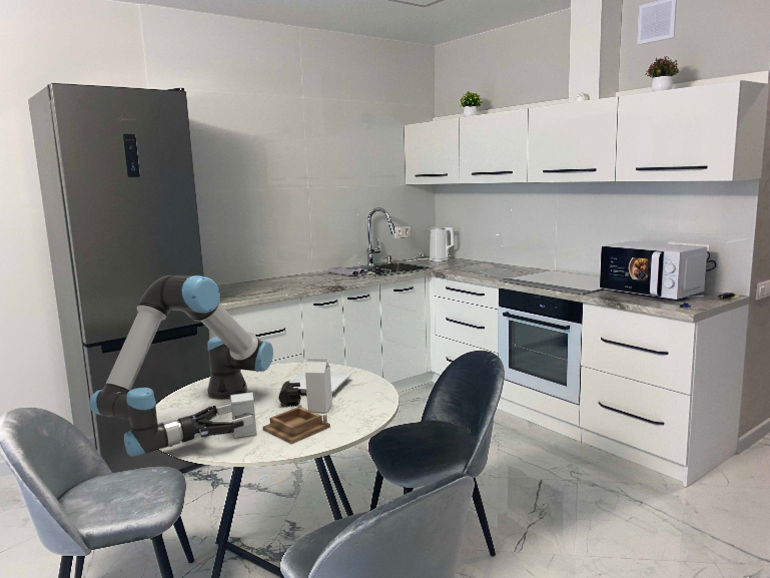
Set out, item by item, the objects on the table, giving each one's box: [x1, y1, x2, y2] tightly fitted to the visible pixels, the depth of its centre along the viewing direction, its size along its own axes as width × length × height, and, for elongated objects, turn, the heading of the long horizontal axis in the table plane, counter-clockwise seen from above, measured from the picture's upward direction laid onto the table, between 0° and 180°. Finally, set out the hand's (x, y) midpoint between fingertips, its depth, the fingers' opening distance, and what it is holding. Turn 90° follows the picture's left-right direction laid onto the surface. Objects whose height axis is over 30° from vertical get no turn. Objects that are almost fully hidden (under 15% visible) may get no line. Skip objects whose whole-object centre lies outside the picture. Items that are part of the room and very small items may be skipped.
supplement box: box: [229, 392, 258, 439], centre depth 193 cm, size 7×7×13 cm
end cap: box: [278, 380, 302, 408], centre depth 218 cm, size 10×7×7 cm
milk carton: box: [304, 357, 333, 413], centre depth 210 cm, size 7×7×19 cm
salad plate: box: [290, 369, 352, 395], centre depth 233 cm, size 21×21×3 cm
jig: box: [262, 404, 331, 445], centre depth 195 cm, size 16×16×4 cm
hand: (244, 412), depth 192 cm, fingers open, 13 cm apart
